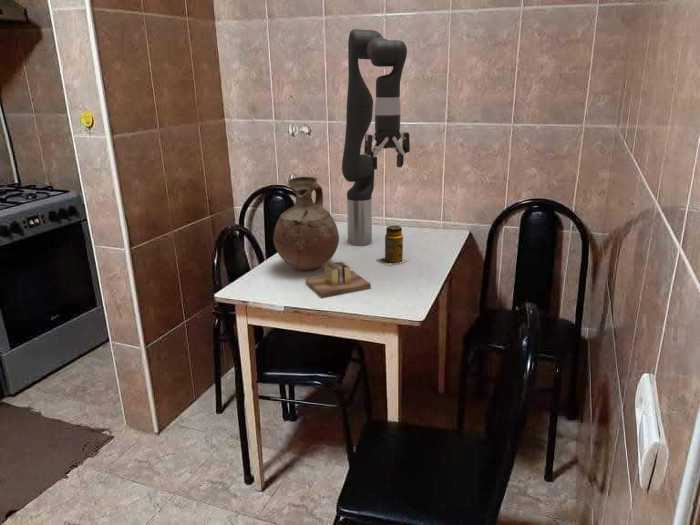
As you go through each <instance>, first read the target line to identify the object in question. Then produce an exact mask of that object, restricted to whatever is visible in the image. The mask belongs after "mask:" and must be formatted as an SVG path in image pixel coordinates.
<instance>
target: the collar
mask: <svg viewBox="0 0 700 525" xmlns="http://www.w3.org/2000/svg"><path fill="white" fill-rule="evenodd" d="M334 264H341V265H342V267H343V279H344V284H348V283H351V271H352V270H351V266H349V265H348V264H346V263H345V262H343V261H338V262H331V263H325V264H323V267H324V276H325V280H326V281H327V282H328V283H329V284H330V285H332V286H337V285H338V269H332V265H334Z"/></svg>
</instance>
